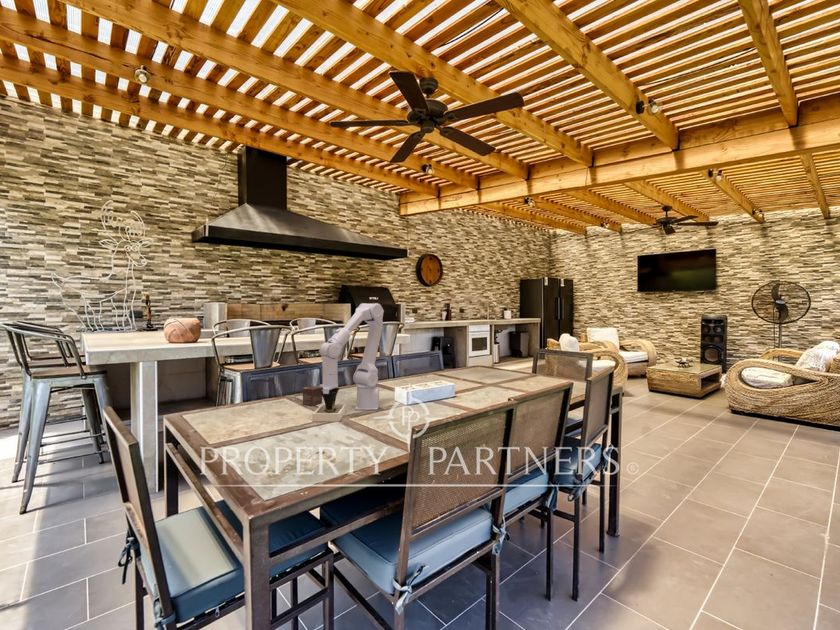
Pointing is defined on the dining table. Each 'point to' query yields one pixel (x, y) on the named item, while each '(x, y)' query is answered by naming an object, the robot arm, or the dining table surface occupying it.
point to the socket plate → (323, 410)
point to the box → (312, 395)
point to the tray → (329, 414)
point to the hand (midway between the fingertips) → (330, 408)
